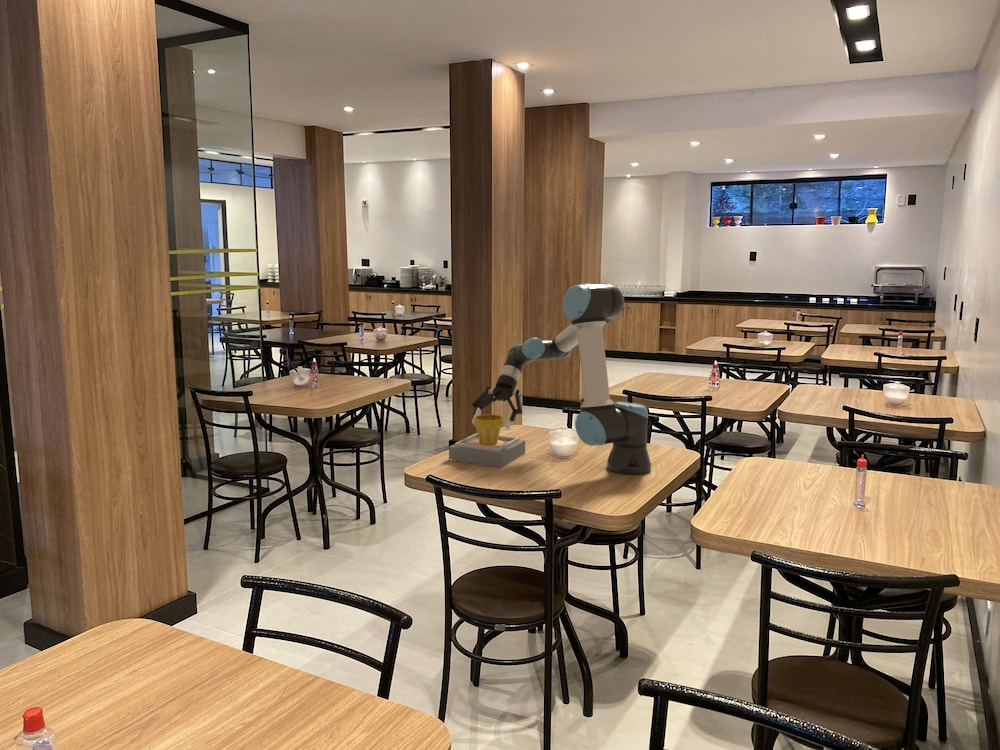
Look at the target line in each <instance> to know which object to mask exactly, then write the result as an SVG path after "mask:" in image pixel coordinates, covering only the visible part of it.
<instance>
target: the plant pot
mask: <svg viewBox="0 0 1000 750" xmlns="http://www.w3.org/2000/svg"><path fill="white" fill-rule="evenodd" d="M473 418H474V425H473V426H474V427H475V429H476V433H478V438H479V443H480V444H483V445H494V444H497V442H498V438H499V436H500V433H501V428H502V426H503V416H502V415H499V414H491V413H486V414H481V415H478V416H475V417H474V416H473Z"/></svg>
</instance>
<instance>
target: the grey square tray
mask: <svg viewBox="0 0 1000 750" xmlns="http://www.w3.org/2000/svg"><path fill="white" fill-rule="evenodd" d="M525 454H526V439H525V440H524V439H520V437H516V436H515V437H514V436H507V435H499V438H498V442H497V444H494V445H483V444H480V443H479V438H478V433H477V432H476V433H474V434H472V435H470V436H468V437H466V438H463V439H461V440H459V441H457V442H454V444H452V445H450V446H448V460H449V459H452V460H456V461H455V462H458V461H460V463H467V464H473V465H474V464H475V465H482V466H488V467H496V468H504V467H505V466H507V465H509V464H510V463H512V462H513V461H515V460H517V459H518V458H521V457H522V456H523V455H525Z"/></svg>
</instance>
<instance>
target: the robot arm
mask: <svg viewBox="0 0 1000 750" xmlns="http://www.w3.org/2000/svg"><path fill="white" fill-rule="evenodd" d="M624 307H625V297H624V294H623V293H622V290H620V289H619V288H618V287H616V286H615V285H612V284H610V283H603V284H601V283H599V284H597V283H595V284H594V283H593V284H591V283H582V284H575V285H572V286H570V287H569V288H568V289H567V290H566V293H565V294H564V296H563V300H562V312H563V315H565V318H566V319H568V320H569V321H571V324H569V325H568V326H567V327H565V328H564V329H563V330H562V331H561V332H560V333H559V334H558V335H556V336H555V337H554V338H552V339H544V340H542V339H541V338H538V337H530V338H529V339H527V340H525V342H523V343H517V344H516V343H515V344H512V345H511V346H510V348H509V350H508V352H507V356H506V358H505V361H504V363H503V366H502V368H501V371H500V373H499V376H498V378H497V380H496V383H495V387H494V388H491V387H490V386H487V387H486V388H485V390H484V391H483V393H481V394H480V395H479V396H478V397H477V398H476V400H473V402H472V403H471V405H472V408H473V409H474V411H473V413H472V416H473V418H472V420H471V423H472V425H473V426H474V417H475V416H478V415H482V410H483V409H484V408H486V407H488V406H489V405H490V404H492V403H493V402H494V403H495V402H496V401H499V402H500V401H501V402H506V401H507V402H508V404H509V406H510V408H511V410H510V411H509V413H508V416H507V419H506V421H505V424H504V427H505V429H506V431H507V430H508V431H509V430H510V428H511V425H512V422H513V423H514V422H515V420H516V417H517V415H522V414H523V408H522V407H523V406H522V402H521V396H522V393H521V391H520V390H519V389H516V387H517V385H518V382H519V379H520V377H521V374H522V372H523V369H524V367H525V366H526V365H527V366H528V364H530V363H531V362H534V361H542V360H543V361H544V360H557V359H558V360H563V359H566V358H569V357H570V356H571V355H572V354H571V353H572V352H573V348H575V347H576V346H578V352H579V355H578V356H579V363H580V371H581V372H580V373H581V380H582V381H581V382H582V383H581V384H582V390H583V399H584V401H583V403H582V404H581V405H580V412H579V413H578V414H577V415H576V418H575V421H574V427H575V428H574V429H575V431H576V434H577V436H578V438H579V439H580V440H581V441H582V442H583V443H584V444H585V445H587V446H589V447H594V446H599V447H600V446H603V445H607V444H612V447H611V450H610V452H609V456H608V458H607V461H606V468H607V470H609V471H610V472H614V473H618V474H625V475H642V473H643V474H646V473H649V472H651V470H652V463H651V460H650V455H649V452H648V449H647V448H648V447H647V445H648V426H649V424H648V423H649V421H648V420H649V415H648V414H649V411H648V408H647V406H645V405H643V404H639V403H634V402H632V403H631V402H625V401H616V402H614V400H612V399H611V397H610V387H609V377H608V376H609V375H608V368H607V361H606V360H607V358H606V351H605V350H606V349H605V339H604V333H603V332H604V331H603V328H604V326H605V325H607V324H610V323H612V322H613V321H614V320H615V319H617V318H618V317H619V316H620V315H621V314H622V312H623V310H624ZM513 396H514V397H515V402H516V403H515V404H516V407H515V405H514V403H513V401H512V399H511V398H512V397H513Z"/></svg>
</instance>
